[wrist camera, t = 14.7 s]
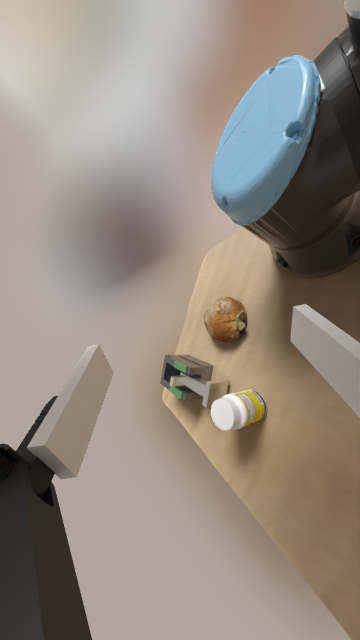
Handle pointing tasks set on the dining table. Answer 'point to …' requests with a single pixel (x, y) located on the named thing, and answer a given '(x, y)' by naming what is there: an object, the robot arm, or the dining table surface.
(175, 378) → the plunger
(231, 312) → the bread roll
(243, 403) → the supplement bottle
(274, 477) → the dining table surface
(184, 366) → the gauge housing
